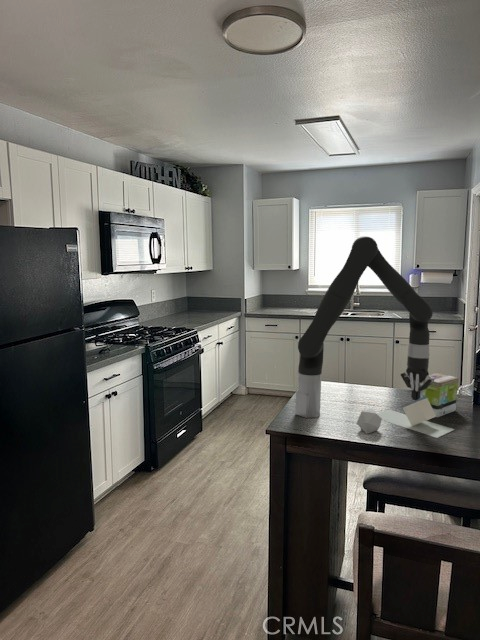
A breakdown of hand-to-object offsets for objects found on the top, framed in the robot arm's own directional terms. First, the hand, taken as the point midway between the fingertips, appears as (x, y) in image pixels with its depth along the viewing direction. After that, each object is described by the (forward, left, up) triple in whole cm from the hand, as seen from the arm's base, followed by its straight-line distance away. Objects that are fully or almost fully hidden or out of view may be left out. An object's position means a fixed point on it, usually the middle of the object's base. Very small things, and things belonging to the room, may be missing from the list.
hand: (415, 399), depth 177 cm
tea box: (+21, +2, -10) cm, 23 cm away
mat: (0, +1, -10) cm, 10 cm away
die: (-20, +6, -10) cm, 23 cm away
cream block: (0, 0, -1) cm, 1 cm away
